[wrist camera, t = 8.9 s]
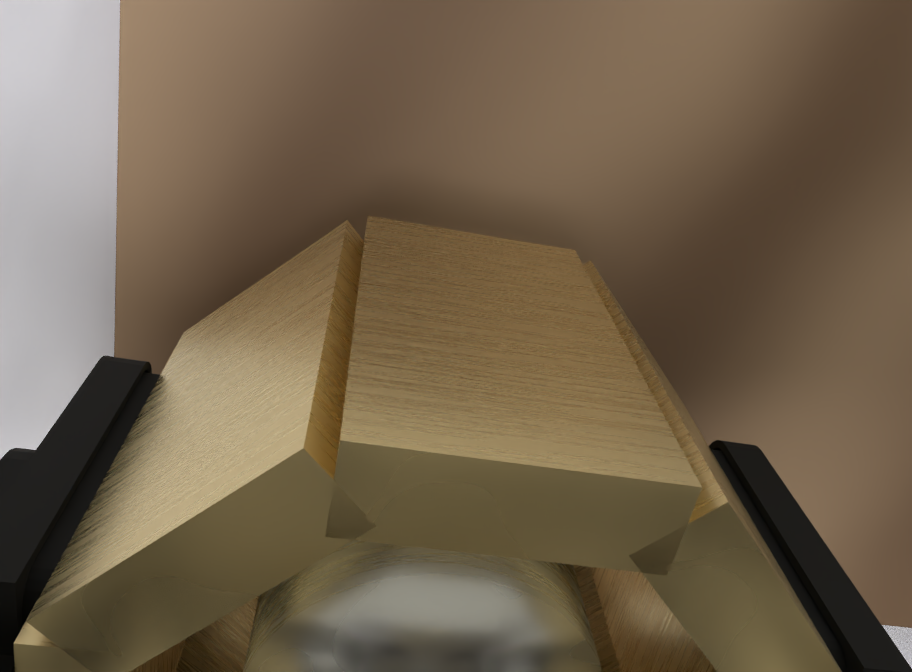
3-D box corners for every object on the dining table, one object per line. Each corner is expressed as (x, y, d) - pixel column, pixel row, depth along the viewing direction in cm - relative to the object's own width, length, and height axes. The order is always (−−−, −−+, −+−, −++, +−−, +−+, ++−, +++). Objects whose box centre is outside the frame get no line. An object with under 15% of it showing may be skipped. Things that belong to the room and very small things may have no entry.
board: (1416, 28, 13) (1459, 31, 13) (1027, 621, 19) (1045, 642, 18) (139, -280, 11) (124, -291, 10) (121, 522, 16) (111, 542, 16)
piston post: (537, 294, 14) (652, 597, 8) (492, 469, 15) (556, 843, 9) (322, 260, 13) (252, 555, 7) (297, 446, 15) (222, 823, 9)
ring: (737, 277, 11) (972, 522, 6) (595, 663, 14) (686, 1015, 9) (183, 183, 10) (1, 395, 5) (160, 621, 13) (31, 990, 8)
